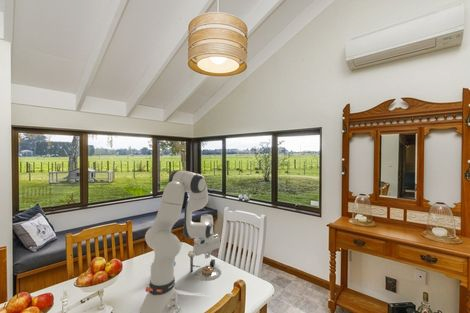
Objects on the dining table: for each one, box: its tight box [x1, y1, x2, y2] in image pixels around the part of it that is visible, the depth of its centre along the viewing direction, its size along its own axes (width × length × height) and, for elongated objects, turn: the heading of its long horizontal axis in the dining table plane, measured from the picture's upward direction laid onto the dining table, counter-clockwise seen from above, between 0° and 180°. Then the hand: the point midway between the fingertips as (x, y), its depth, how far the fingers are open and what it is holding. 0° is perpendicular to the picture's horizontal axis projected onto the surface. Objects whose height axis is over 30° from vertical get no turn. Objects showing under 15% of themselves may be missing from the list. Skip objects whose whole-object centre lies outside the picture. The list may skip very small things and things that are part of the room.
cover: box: [201, 265, 213, 276], centre depth 146 cm, size 7×7×4 cm
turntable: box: [193, 258, 222, 282], centre depth 147 cm, size 20×17×4 cm
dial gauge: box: [187, 249, 201, 273], centre depth 147 cm, size 8×4×15 cm, turn 78°
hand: (207, 257), depth 156 cm, fingers closed
